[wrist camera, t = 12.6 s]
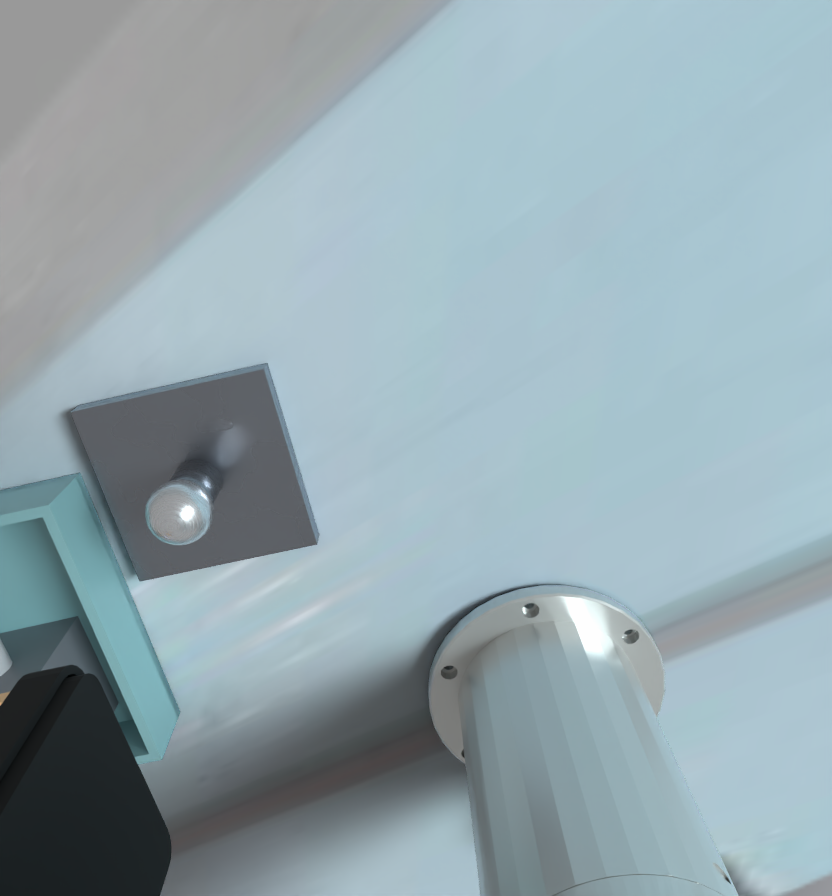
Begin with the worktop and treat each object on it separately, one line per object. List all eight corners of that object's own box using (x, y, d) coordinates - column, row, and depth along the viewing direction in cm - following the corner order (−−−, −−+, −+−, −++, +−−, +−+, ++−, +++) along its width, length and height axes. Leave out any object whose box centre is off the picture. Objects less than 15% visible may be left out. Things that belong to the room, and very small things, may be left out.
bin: (180, 712, 42) (162, 759, 38) (-4, 748, 42) (-37, 798, 39) (79, 472, 36) (49, 504, 33) (-129, 518, 37) (-179, 554, 34)
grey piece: (318, 534, 38) (306, 597, 33) (145, 571, 38) (105, 638, 33) (267, 362, 35) (244, 401, 29) (78, 405, 35) (22, 451, 30)
